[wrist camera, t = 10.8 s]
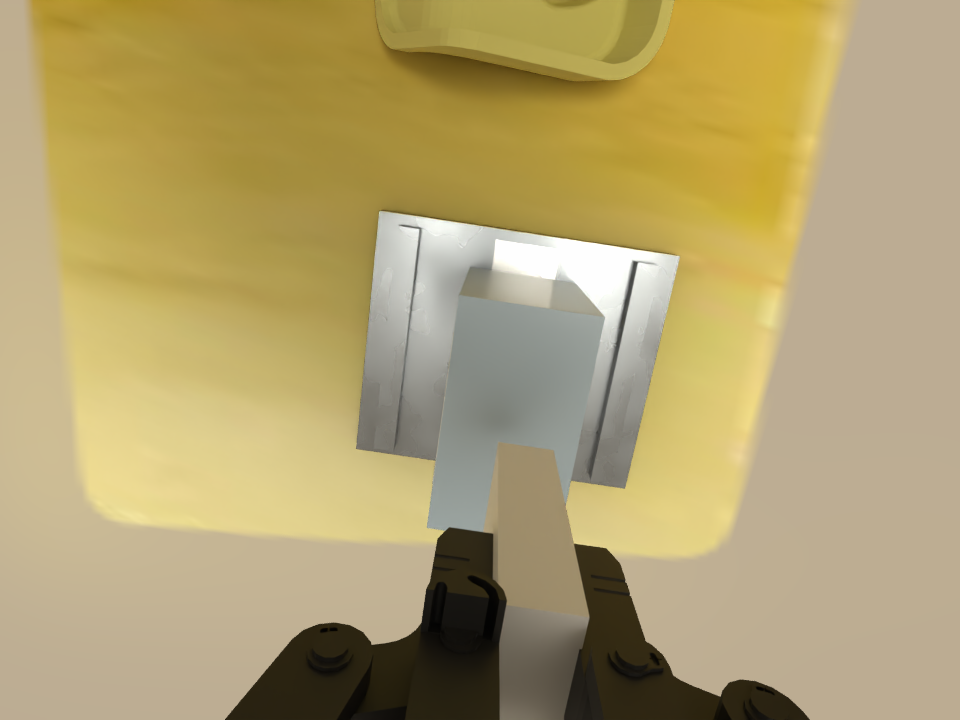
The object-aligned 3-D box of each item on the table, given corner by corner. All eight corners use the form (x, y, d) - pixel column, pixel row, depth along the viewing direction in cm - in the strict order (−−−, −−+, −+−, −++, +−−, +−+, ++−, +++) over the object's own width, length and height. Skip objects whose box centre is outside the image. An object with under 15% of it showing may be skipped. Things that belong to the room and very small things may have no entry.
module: (469, 266, 28) (457, 294, 20) (576, 283, 28) (606, 317, 20) (444, 442, 30) (425, 527, 23) (543, 457, 30) (558, 547, 23)
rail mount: (382, 210, 28) (376, 211, 27) (674, 254, 28) (684, 258, 27) (359, 442, 31) (352, 454, 30) (621, 481, 31) (627, 495, 30)
